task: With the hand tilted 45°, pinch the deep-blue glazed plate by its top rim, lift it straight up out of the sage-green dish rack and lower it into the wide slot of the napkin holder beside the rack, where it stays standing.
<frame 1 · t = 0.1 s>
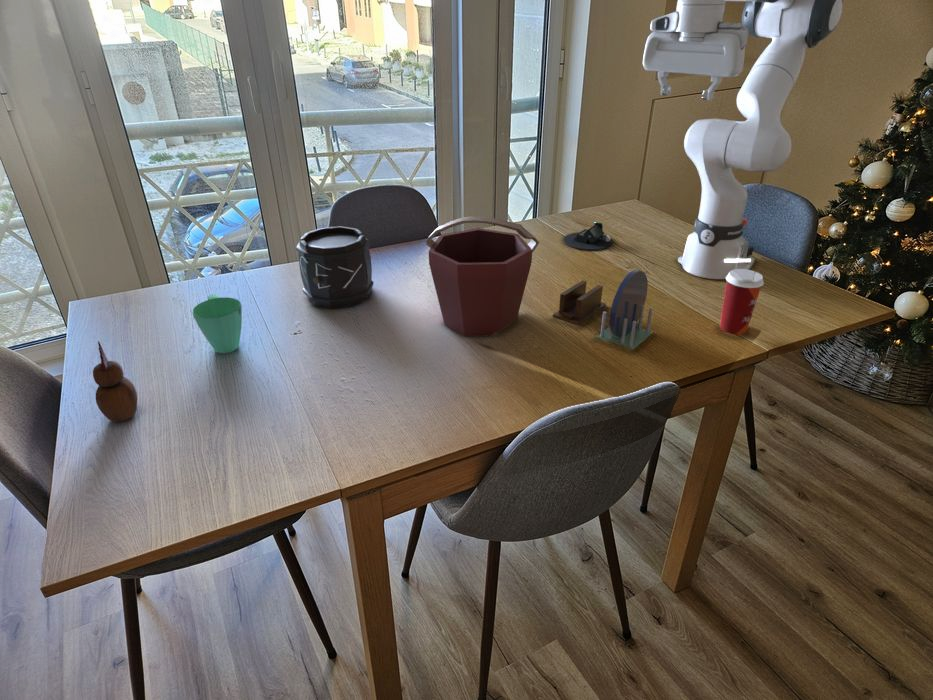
hand: (685, 97, 126), 48 cm above the table, tool pointing down, fingers open, 8 cm apart
mug: (225, 343, 137), on the table
dark blue round base: (588, 242, 189), on the table
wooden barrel: (338, 296, 158), on the table
dish rack: (624, 338, 137), on the table
plate: (624, 334, 137), point 1 cm above the table, touching dish rack
napkin holder: (579, 314, 147), on the table
wooden figurine: (123, 416, 114), on the table
bucket: (479, 321, 145), on the table
paper cup: (731, 332, 139), on the table
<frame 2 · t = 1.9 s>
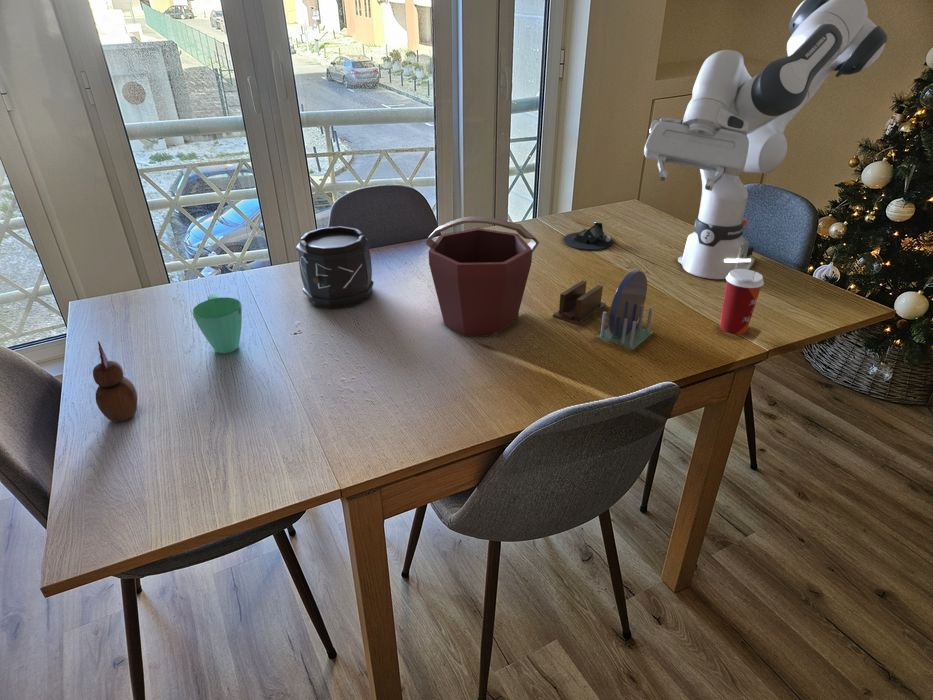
hand: (684, 184, 126), 33 cm above the table, tool tilted 40°, fingers open, 8 cm apart
nothing on the table moved.
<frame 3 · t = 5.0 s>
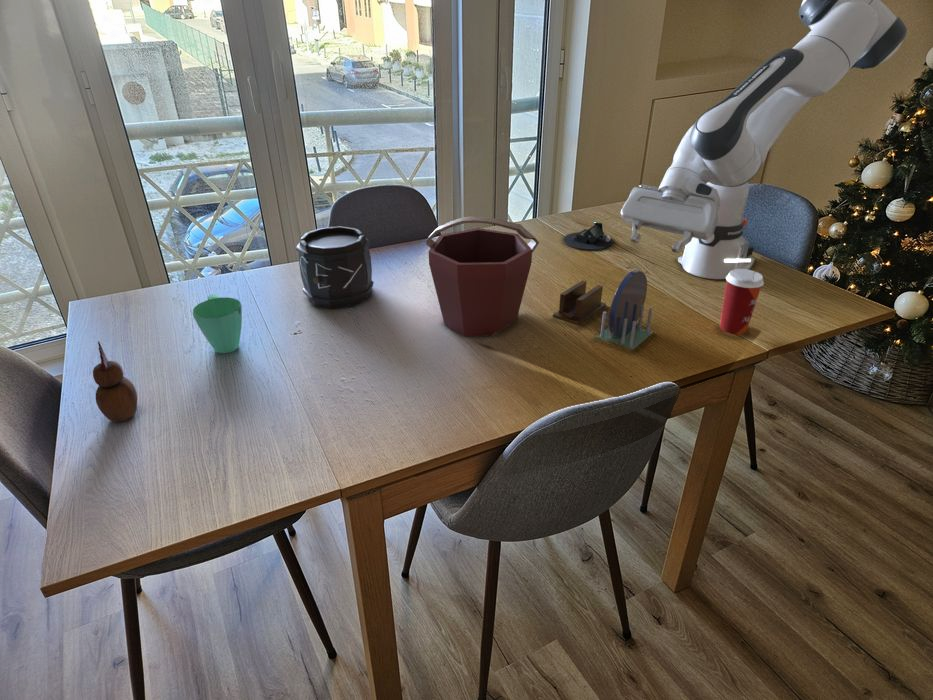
hand: (654, 246, 132), 20 cm above the table, tool tilted 45°, fingers open, 8 cm apart
nothing on the table moved.
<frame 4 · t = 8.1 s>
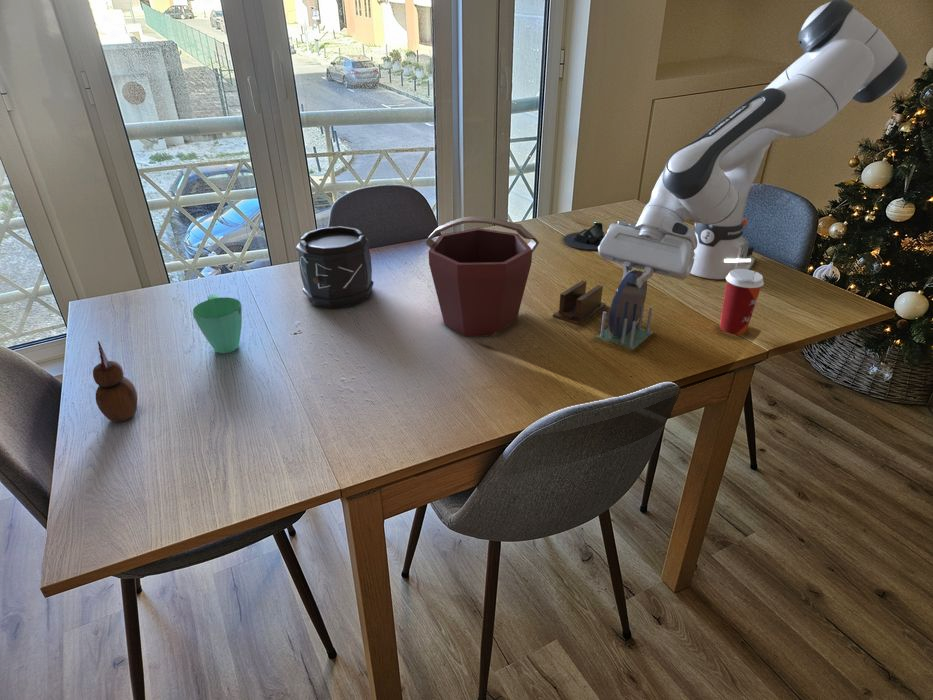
hand: (630, 285, 130), 13 cm above the table, tool tilted 45°, fingers closed on plate, 1 cm apart
plate: (624, 334, 137), point 1 cm above the table, touching dish rack, gripper
everything else where it was.
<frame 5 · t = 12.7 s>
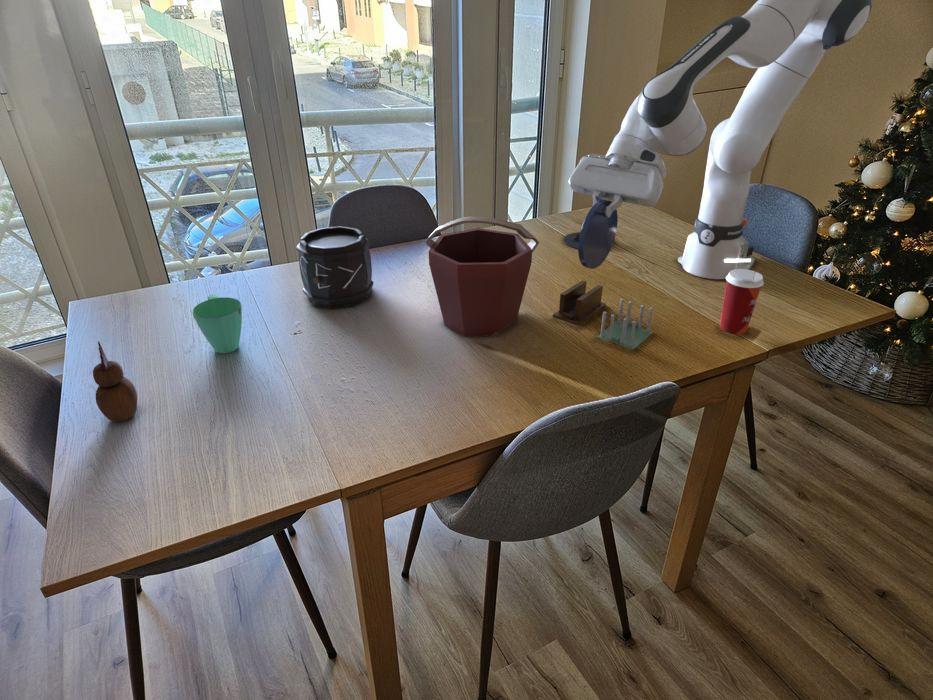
hand: (599, 214, 131), 26 cm above the table, tool tilted 45°, fingers closed on plate
plate: (595, 266, 138), point 14 cm above the table, touching gripper
everything else where it was.
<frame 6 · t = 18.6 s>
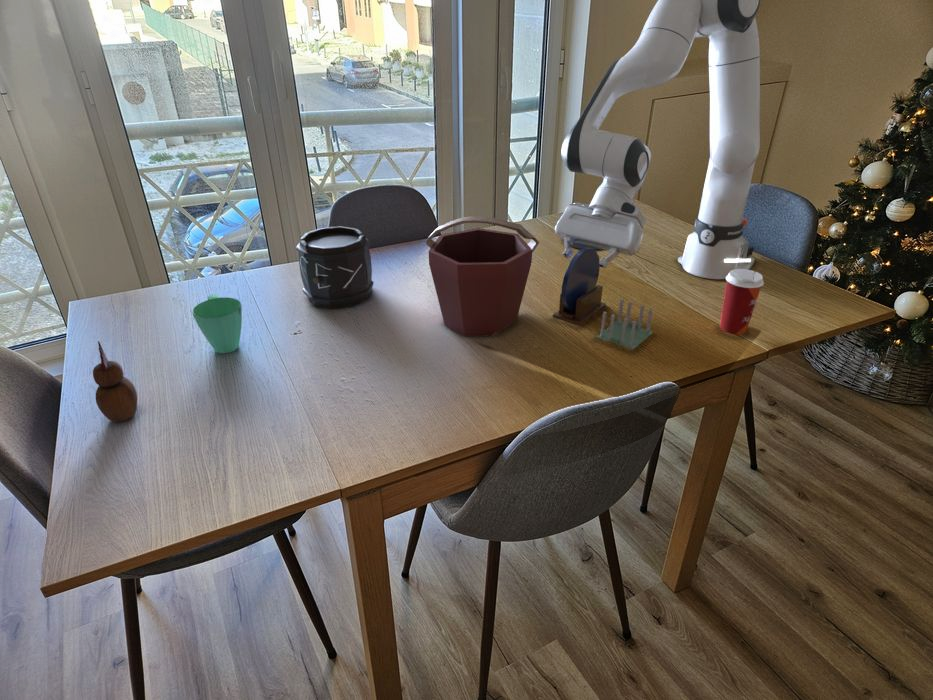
hand: (583, 261, 140), 14 cm above the table, tool tilted 45°, fingers open, 8 cm apart
plate: (578, 308, 147), point 2 cm above the table, touching napkin holder
everything else where it was.
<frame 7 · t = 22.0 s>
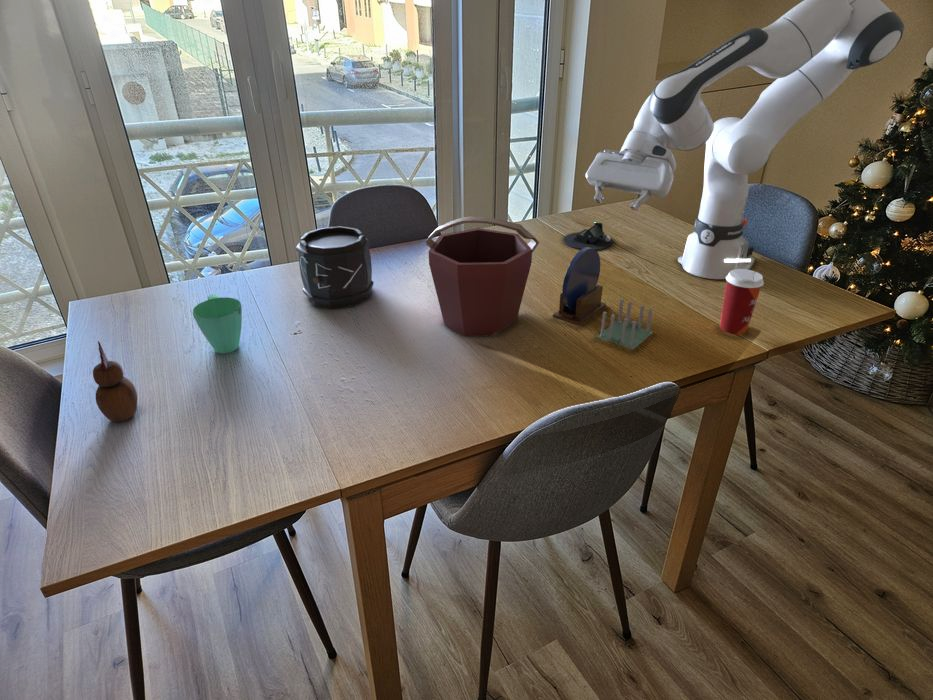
hand: (614, 205, 142), 24 cm above the table, tool tilted 45°, fingers open, 8 cm apart
nothing on the table moved.
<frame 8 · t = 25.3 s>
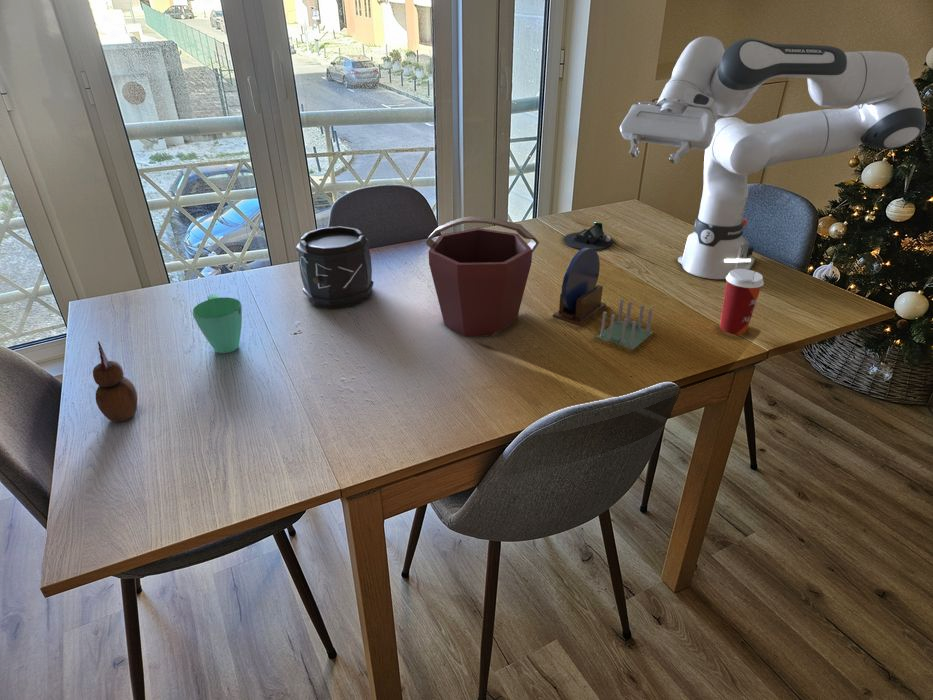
hand: (652, 158, 133), 35 cm above the table, tool tilted 45°, fingers open, 8 cm apart
nothing on the table moved.
at the end: plate 0.4 cm off-centre on the napkin holder, point 1.5 cm above the napkin holder's base; plate tilted 2°; the gripper is holding nothing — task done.
